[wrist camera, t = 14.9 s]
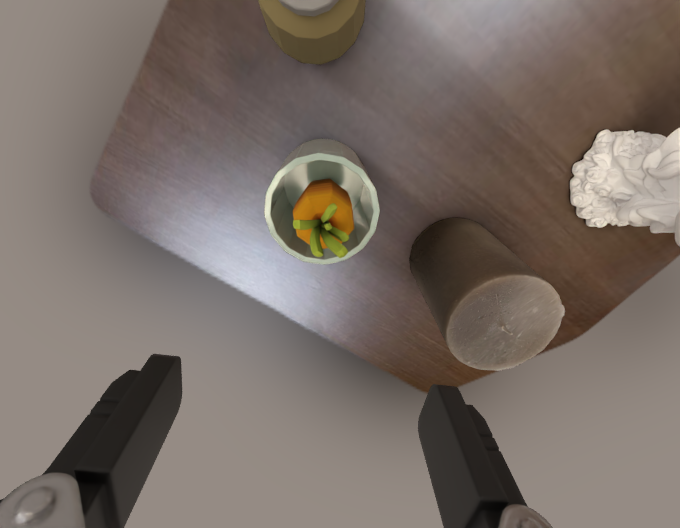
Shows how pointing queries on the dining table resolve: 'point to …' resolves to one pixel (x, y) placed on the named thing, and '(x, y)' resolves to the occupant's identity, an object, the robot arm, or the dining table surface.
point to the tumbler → (318, 164)
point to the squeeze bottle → (313, 27)
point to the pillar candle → (483, 295)
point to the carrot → (324, 217)
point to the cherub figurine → (630, 181)
